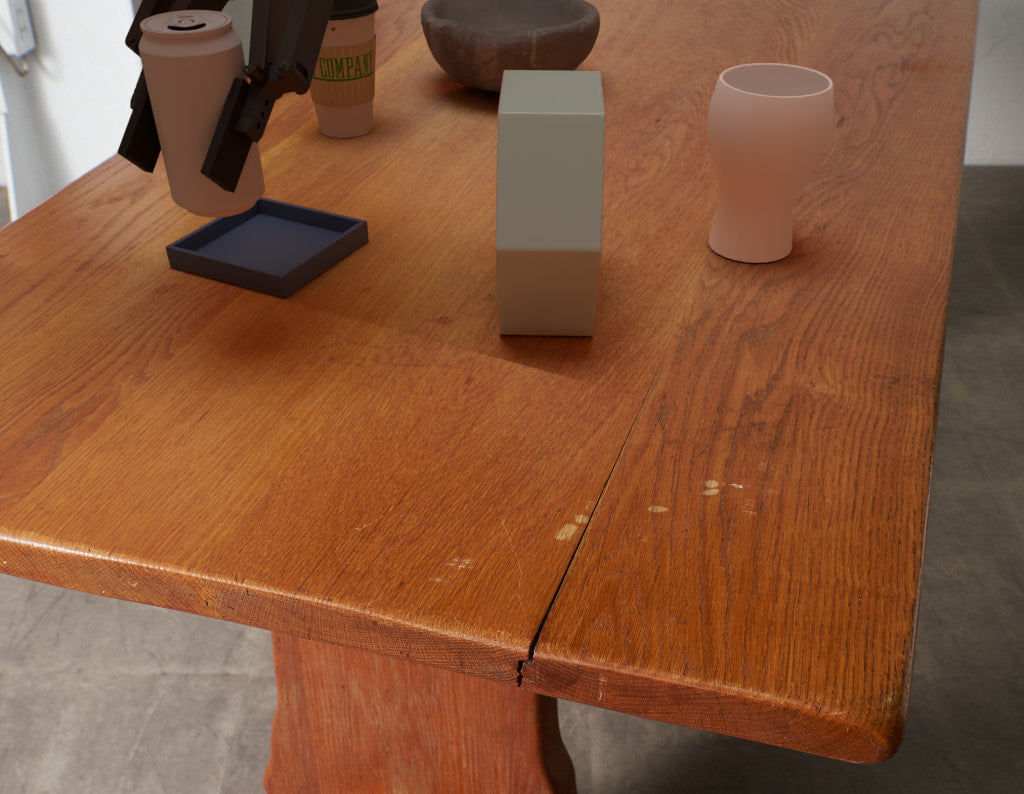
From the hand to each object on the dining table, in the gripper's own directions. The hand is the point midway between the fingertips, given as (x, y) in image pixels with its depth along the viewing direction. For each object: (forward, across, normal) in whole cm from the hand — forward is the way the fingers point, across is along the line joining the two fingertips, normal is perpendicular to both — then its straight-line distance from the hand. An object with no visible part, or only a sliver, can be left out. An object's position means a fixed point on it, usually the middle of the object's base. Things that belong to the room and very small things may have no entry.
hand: (175, 172), depth 66 cm
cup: (-18, -28, -41) cm, 53 cm away
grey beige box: (-4, -17, -28) cm, 32 cm away
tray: (-2, +10, -25) cm, 27 cm away
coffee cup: (-24, +24, -47) cm, 58 cm away
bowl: (-40, +14, -64) cm, 76 cm away
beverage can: (0, 0, -5) cm, 5 cm away
